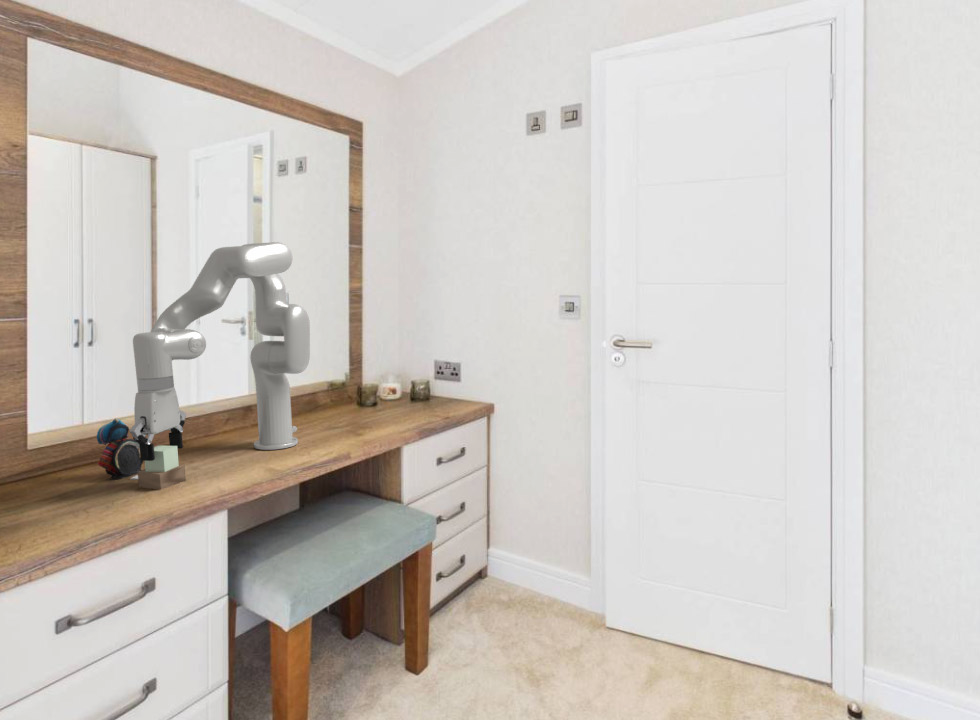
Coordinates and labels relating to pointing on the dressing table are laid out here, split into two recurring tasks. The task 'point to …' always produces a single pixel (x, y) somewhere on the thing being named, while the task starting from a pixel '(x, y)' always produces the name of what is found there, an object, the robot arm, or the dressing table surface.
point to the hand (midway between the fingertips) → (162, 454)
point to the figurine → (118, 451)
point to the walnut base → (161, 478)
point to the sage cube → (163, 459)
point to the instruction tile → (135, 477)
